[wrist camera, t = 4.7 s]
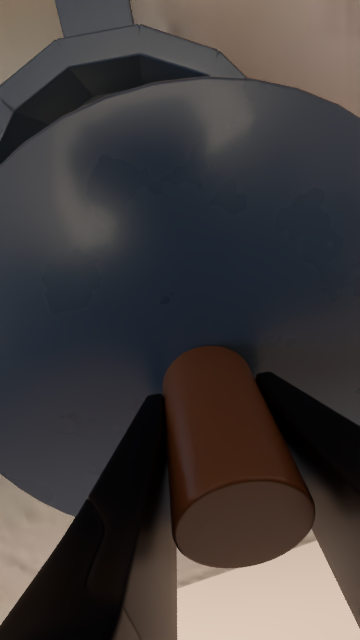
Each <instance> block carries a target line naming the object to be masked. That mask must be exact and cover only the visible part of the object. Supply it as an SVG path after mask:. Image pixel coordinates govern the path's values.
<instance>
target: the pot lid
mask: <svg viewBox="0 0 360 640" xmlns="http://www.w3.org/2000/svg"><path fill="white" fill-rule="evenodd" d="M268 371H270V372H272V373H274V374H276V375H277V376H279V377H280V378H282V379H284V380H285V381H287V382H289V383H290V384H292V385H294V386H295V387H297V388H298V389H300V390H302V391H303V392H305V393H307V394H308V395H310V396H312V397H313V398H315V399H316V400H318V401H320V402H321V403H323V404H325V405H326V406H328V407H330V408H331V409H333V410H334V411H336V412H338V413H339V414H341V415H343V416H344V417H346V418H348V419H349V420H351V421H352V422H354V423H356V424H357V425H359V426H360V118H359V117H358V116H356V115H354V114H353V113H351V112H349V111H348V110H346V109H345V108H343V107H341V106H340V105H338V104H336V103H333V102H331V101H328V100H326V99H323V98H321V97H318V96H316V95H313V94H311V93H308V92H306V91H303V90H301V89H298V88H294V87H290V86H285V85H280V84H276V83H271V82H266V81H261V80H257V79H252V78H232V77H209V76H201V77H192V78H184V79H176V80H167V81H159V82H152V83H149V84H145V85H142V86H138V87H135V88H131V89H128V90H124V91H121V92H117V93H114V94H111V95H107V96H105V97H102V98H100V99H98V100H96V101H94V102H92V103H90V104H87V105H85V106H83V107H81V108H79V109H77V110H75V111H73V112H70V113H68V114H66V115H64V116H62V117H60V118H59V119H57V120H56V121H55V122H53V123H52V124H50V125H49V126H47V127H46V128H44V129H43V130H41V131H40V132H38V133H37V134H36V135H34V136H33V137H31V138H30V139H28V140H27V141H25V142H24V143H23V144H21V145H20V146H19V147H18V148H17V149H16V150H15V151H14V152H13V153H12V154H11V155H10V156H9V157H8V158H7V159H6V160H5V161H4V162H3V163H2V164H1V165H0V473H1V474H2V475H3V476H4V477H6V478H7V479H8V480H9V481H11V482H12V483H13V484H15V485H16V486H17V487H18V488H20V489H21V490H23V491H25V492H26V493H28V494H29V495H31V496H33V497H34V498H36V499H38V500H39V501H41V502H43V503H45V504H47V505H49V506H51V507H53V508H55V509H57V510H59V511H62V512H64V513H66V514H69V515H72V516H74V517H76V516H77V514H78V512H79V511H80V509H81V507H82V505H83V504H84V502H85V500H86V499H89V498H88V496H89V494H90V492H91V490H92V489H93V487H94V485H95V484H96V482H97V480H98V479H99V477H100V475H101V473H102V472H103V470H104V468H105V467H106V465H107V463H108V462H109V460H110V458H111V456H112V455H113V453H114V451H115V450H116V448H117V446H118V445H119V443H120V441H121V439H122V438H123V436H124V434H125V433H126V431H127V429H128V428H129V426H130V424H131V422H132V421H133V419H134V417H135V416H136V414H137V412H138V411H139V409H140V407H141V405H142V404H143V402H144V400H145V399H146V397H147V396H149V395H153V394H158V393H161V394H162V395H163V400H164V415H165V431H166V449H167V465H168V481H169V496H170V512H171V528H172V536H173V540H174V542H175V544H176V546H177V548H178V549H179V551H180V552H181V553H182V554H183V555H184V556H186V557H187V558H189V559H190V560H192V561H194V562H196V563H199V564H202V565H205V566H209V567H216V568H240V567H247V566H252V565H257V564H261V563H264V562H266V561H270V560H272V559H275V558H277V557H279V556H280V555H283V554H285V553H286V552H288V551H290V550H291V549H292V548H294V547H295V546H296V545H298V544H299V543H300V542H301V541H302V540H303V539H304V538H305V537H306V536H307V534H308V533H309V531H310V530H311V528H312V526H313V523H314V520H315V514H316V513H315V503H314V500H313V498H312V496H311V494H310V492H309V490H308V487H307V485H306V483H305V481H304V479H303V477H302V475H301V473H300V471H299V469H298V467H297V465H296V463H295V461H294V459H293V457H292V454H291V452H290V450H289V448H288V446H287V444H286V442H285V440H284V438H283V436H282V434H281V432H280V430H279V428H278V426H277V424H276V421H275V419H274V417H273V415H272V413H271V411H270V409H269V407H268V405H267V403H266V401H265V399H264V397H263V395H262V393H261V391H260V388H259V386H258V384H257V382H256V380H255V376H256V374H258V373H263V372H268Z"/></svg>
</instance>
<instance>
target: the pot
mask: <svg viewBox="0 0 360 640" xmlns="http://www.w3.org/2000/svg"><path fill="white" fill-rule="evenodd" d="M55 3H56V7H57V11H58V15H59V19H60V23H61V27H62V31H63V35H64V37H63V38H58V39H57V40H54V41H53V42H52V43H51V44H49V45H48V46H47V47H46V48H45V49H43V50H42V51H41V52H40V53H39V54H37V55H36V56H35V57H34V58H33V59H31V60H30V61H29V62H28V63H27V64H25V65H24V66H23V67H22V68H20V69H19V70H18V71H17V72H16V73H14V74H13V75H12V76H11V77H10V78H8V79H7V80H6V81H5V82H4V83H2V84H1V85H0V165H1V164H2V163H3V162H4V161H5V160H6V159H7V158H8V157H9V156H10V155H11V154H12V153H13V152H14V151H15V150H16V149H17V148H18V147H19V146H20V145H21V144H23V143H24V142H25V141H27V140H28V139H30V138H31V137H33V136H34V135H36V134H37V133H38V132H40V131H41V130H43V129H44V128H46V127H47V126H49V125H50V124H52V123H53V122H55V121H56V120H57V119H59V118H60V117H62V116H64V115H66V114H68V113H70V112H73V111H75V110H77V109H79V108H81V107H83V106H85V105H87V104H90V103H92V102H94V101H96V100H98V99H100V98H102V97H105V96H107V95H111V94H114V93H117V92H121V91H124V90H128V89H131V88H135V87H138V86H142V85H145V84H149V83H152V82H159V81H167V80H176V79H184V78H192V77H201V76H209V77H232V78H247V77H246V76H245V75H244V74H243V73H242V72H241V71H240V70H239V69H238V68H237V67H236V66H235V65H234V64H233V63H232V62H231V61H229V60H228V59H227V58H226V57H225V56H224V55H223V54H222V53H221V52H220V51H219V52H218V50H217V49H214V48H211V47H208V46H205V45H202V44H199V43H196V42H193V41H190V40H187V39H184V38H181V37H178V36H175V35H172V34H169V33H166V32H163V31H160V30H157V29H154V28H150V27H147V26H144V25H140V26H139V25H138V24H135V25H134V22H133V16H132V10H131V4H130V0H55Z"/></svg>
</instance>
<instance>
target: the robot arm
mask: <svg viewBox="0 0 360 640" xmlns="http://www.w3.org/2000/svg"><path fill="white" fill-rule="evenodd" d="M255 380H256V382H257V384H258V386H259V388H260V391H261V393H262V395H263V397H264V399H265V401H266V403H267V405H268V407H269V409H270V411H271V413H272V415H273V417H274V419H275V421H276V424H277V426H278V428H279V430H280V432H281V434H282V436H283V438H284V440H285V442H286V444H287V446H288V448H289V450H290V452H291V454H292V457H293V459H294V461H295V463H296V465H297V467H298V469H299V471H300V473H301V475H302V477H303V479H304V481H305V483H306V485H307V487H308V490H309V492H310V494H311V496H312V498H313V500H314V503H315V513H316V514H315V520H314V523H313V526H312V531H313V533H314V535H315V537H316V539H317V541H318V543H319V545H320V547H321V549H322V551H323V553H324V555H325V557H326V560H327V561H328V564H329V566H330V568H331V570H332V572H333V574H334V576H335V578H336V580H337V582H338V584H339V586H340V588H341V590H342V593H343V595H344V597H345V599H346V601H347V603H348V605H349V607H350V609H351V611H352V613H353V615H354V617H355V620H356V622H357V624H358V626H359V628H360V426H359V425H357V424H356V423H354V422H352V421H351V420H349V419H348V418H346V417H344V416H343V415H341V414H339V413H338V412H336V411H334V410H333V409H331V408H330V407H328V406H326V405H325V404H323V403H321V402H320V401H318V400H316V399H315V398H313V397H312V396H310V395H308V394H307V393H305V392H303V391H302V390H300V389H298V388H297V387H295V386H294V385H292V384H290V383H289V382H287V381H285V380H284V379H282V378H280V377H279V376H277V375H276V374H274V373H272V372H270V371H268V372H263V373H258V374H256V376H255ZM88 498H89V499H86V500H85V502H84V504H83V505H82V507H81V509H80V511H79V512H78V514H77V516H76V517H75V519H74V520H73V522H72V524H71V525H70V527H69V528H68V530H67V532H66V533H65V535H64V536H63V538H62V539H61V541H60V542H59V544H58V545H57V547H56V548H55V550H54V551H53V552H52V554H51V555H50V557H49V558H48V560H47V561H46V563H45V564H44V565H43V567H42V568H41V570H40V571H39V572H38V574H37V575H36V577H35V578H34V579H33V581H32V582H31V584H30V585H29V586H28V588H27V589H26V591H25V592H24V593H23V595H22V596H21V598H20V599H19V600H18V602H17V603H16V605H15V606H14V607H13V609H12V610H11V611H10V613H9V614H8V616H7V617H6V618H5V620H4V621H3V623H2V624H1V625H0V640H177V557H176V544H175V542H174V540H173V536H172V528H171V512H170V496H169V481H168V465H167V449H166V431H165V415H164V400H163V395H162V394H161V393H158V394H153V395H149V396H147V397H146V399H145V400H144V402H143V404H142V405H141V407H140V409H139V411H138V412H137V414H136V416H135V417H134V419H133V421H132V422H131V424H130V426H129V428H128V429H127V431H126V433H125V434H124V436H123V438H122V439H121V441H120V443H119V445H118V446H117V448H116V450H115V451H114V453H113V455H112V456H111V458H110V460H109V462H108V463H107V465H106V467H105V468H104V470H103V472H102V473H101V475H100V477H99V479H98V480H97V482H96V484H95V485H94V487H93V489H92V490H91V492H90V494H89V496H88Z"/></svg>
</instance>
